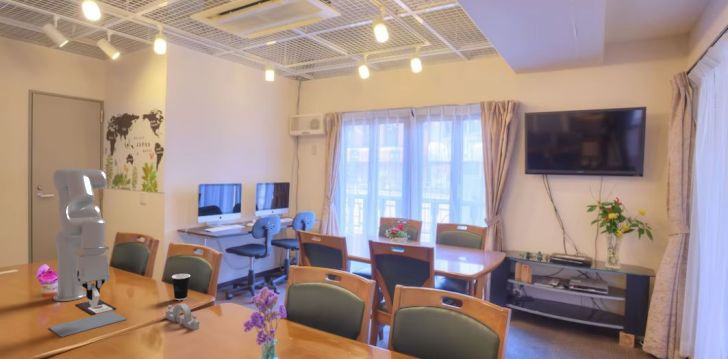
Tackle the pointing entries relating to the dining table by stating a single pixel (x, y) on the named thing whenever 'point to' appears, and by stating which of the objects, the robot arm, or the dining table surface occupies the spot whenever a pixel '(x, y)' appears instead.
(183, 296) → the dixie cup
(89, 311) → the chocolate bar
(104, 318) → the mat
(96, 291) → the slab
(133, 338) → the dining table surface
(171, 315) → the grey arched bracket
